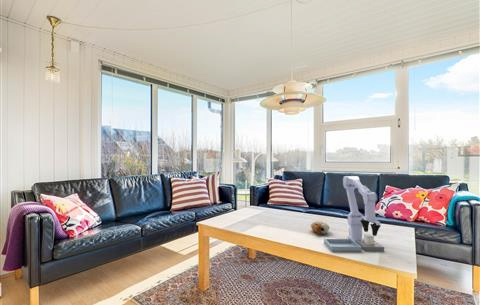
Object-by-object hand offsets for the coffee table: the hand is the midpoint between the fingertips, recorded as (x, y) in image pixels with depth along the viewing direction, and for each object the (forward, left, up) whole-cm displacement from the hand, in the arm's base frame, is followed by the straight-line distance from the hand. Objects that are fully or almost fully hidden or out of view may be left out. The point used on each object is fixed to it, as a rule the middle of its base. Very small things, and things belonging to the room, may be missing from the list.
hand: (370, 233), depth 149 cm
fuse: (-2, 0, -9) cm, 9 cm away
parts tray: (-2, -17, -9) cm, 19 cm away
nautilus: (-31, -23, -10) cm, 40 cm away
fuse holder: (-2, 0, -9) cm, 10 cm away
